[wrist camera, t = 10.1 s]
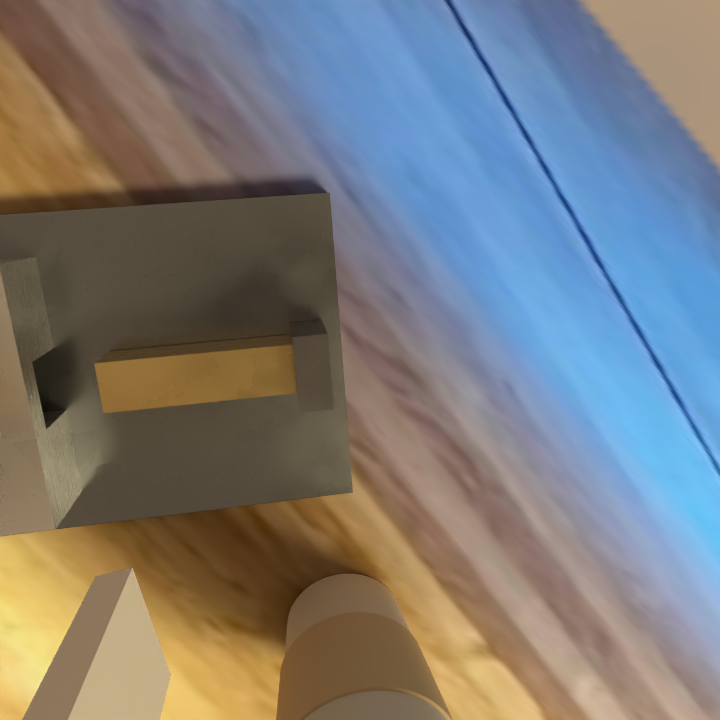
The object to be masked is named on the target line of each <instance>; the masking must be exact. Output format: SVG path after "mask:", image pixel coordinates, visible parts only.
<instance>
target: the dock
mask: <svg viewBox="0 0 720 720" xmlns="http://www.w3.org/2000/svg"><path fill="white" fill-rule="evenodd" d="M315 320H322V321H323V324H324V326H325V328H326V331H327V333H328V342H329V354H330V367H331V379H332V391H333V403H334V409H332V410H322V411H313V412H304V413H300V411H299V403H298V395H297V393H294V394H284V395H274V396H265V397H255V398H246V399H236V400H226V401H217V402H207V403H198V404H188V405H179V406H169V407H159V408H150V409H140V410H131V411H121V412H111V413H103V409H102V403H101V398H100V392H99V387H98V381H97V376H96V370H95V365H94V363H95V362H96V361H98V360H99V359H100V358H101V357H102V356H103V355H105V354H106V353H107V352H108V351H118V350H129V349H139V348H150V347H161V346H172V345H182V344H193V343H204V342H214V341H225V340H236V339H247V338H257V337H268V336H279V335H289V334H291V324H290V323H293V322H304V321H315ZM352 492H353V490H352V477H351V464H350V451H349V438H348V425H347V412H346V399H345V386H344V373H343V360H342V347H341V334H340V321H339V308H338V295H337V282H336V269H335V256H334V243H333V230H332V217H331V204H330V193H317V194H302V195H287V196H272V197H257V198H243V199H228V200H213V201H198V202H183V203H169V204H154V205H139V206H124V207H109V208H94V209H80V210H65V211H50V212H35V213H20V214H5V215H0V536H8V535H16V534H24V533H32V532H40V531H48V530H56V529H62V528H70V527H78V526H86V525H94V524H102V523H110V522H118V521H126V520H134V519H142V518H151V517H159V516H167V515H175V514H183V513H191V512H199V511H207V510H215V509H223V508H231V507H239V506H247V505H255V504H263V503H271V502H279V501H288V500H296V499H304V498H312V497H320V496H328V495H336V494H344V493H352Z"/></svg>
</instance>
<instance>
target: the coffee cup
mask: <svg viewBox="0 0 720 720" xmlns="http://www.w3.org/2000/svg"><path fill="white" fill-rule="evenodd" d="M276 720H452V717H451V715H450V713H449V711H448V709H447V706H446V704H445V702H444V700H443V698H442V695H441V693H440V691H439V689H438V687H437V684H436V682H435V680H434V678H433V676H432V673H431V671H430V669H429V667H428V664H427V662H426V660H425V658H424V656H423V653H422V651H421V649H420V647H419V645H418V643H417V641H416V639H415V638H414V637H413V635H412V634H411V633H410V630H409V628H408V626H407V623H406V621H405V619H404V617H403V614H402V612H401V610H400V607H399V605H398V603H397V601H396V599H395V597H394V595H393V594H392V593H391V591H390V590H389V589H388V588H387V587H386V586H384V585H383V584H382V583H380V582H379V581H377V580H375V579H373V578H370V577H368V576H364V575H360V574H337V575H332V576H329V577H326V578H323V579H321V580H319V581H317V582H315V583H313V584H312V585H310V586H309V587H307V588H306V589H305V590H304V591H303V592H302V593H301V594H300V595H299V596H298V597H297V599H296V600H295V602H294V603H293V605H292V607H291V609H290V612H289V615H288V621H287V632H286V645H285V657H284V660H283V663H282V666H281V672H280V683H279V694H278V706H277V718H276Z"/></svg>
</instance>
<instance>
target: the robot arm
mask: <svg viewBox="0 0 720 720" xmlns="http://www.w3.org/2000/svg"><path fill="white" fill-rule="evenodd" d="M170 676H171V674H170V671H169V668H168V666H167V663H166V660H165V657H164V654H163V652H162V649H161V646H160V643H159V640H158V638H157V635H156V632H155V629H154V626H153V624H152V621H151V618H150V615H149V612H148V610H147V607H146V604H145V601H144V599H143V596H142V593H141V590H140V587H139V585H138V582H137V579H136V576H135V573H134V571H133V568H128V569H124V570H120V571H116V572H112V573H108V574H104V575H100V576H96V577H95V579H94V581H93V583H92V585H91V586H90V588H89V590H88V592H87V594H86V596H85V598H84V600H83V602H82V604H81V606H80V608H79V610H78V612H77V614H76V616H75V618H74V620H73V622H72V624H71V626H70V628H69V630H68V631H67V633H66V635H65V637H64V639H63V641H62V643H61V645H60V647H59V649H58V651H57V653H56V655H55V657H54V659H53V661H52V663H51V665H50V667H49V669H48V671H47V673H46V674H45V676H44V678H43V680H42V682H41V684H40V686H39V688H38V690H37V692H36V694H35V696H34V698H33V700H32V702H31V704H30V706H29V708H28V710H27V712H26V714H25V716H24V717H23V719H22V720H160V717H161V712H162V708H163V704H164V700H165V696H166V692H167V688H168V684H169V680H170Z"/></svg>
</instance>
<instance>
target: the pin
mask: <svg viewBox="0 0 720 720" xmlns="http://www.w3.org/2000/svg"><path fill="white" fill-rule="evenodd" d="M290 324H291V334H289V335H279V336H268V337H257V338H247V339H236V340H225V341H214V342H204V343H193V344H182V345H172V346H161V347H150V348H139V349H129V350H118V351H108V352H107V353H106V354H105V355H103V356H102V357H101V358H100V359H99V360H98V361H96V362H95V363H94V365H95V370H96V376H97V381H98V387H99V392H100V398H101V403H102V409H103V413H111V412H121V411H131V410H140V409H150V408H159V407H169V406H179V405H188V404H198V403H207V402H217V401H226V400H236V399H246V398H255V397H265V396H274V395H284V394H294V393H297V395H298V403H299V411H300V413H304V412H313V411H322V410H332V409H334V403H333V391H332V379H331V367H330V354H329V342H328V333H327V331H326V328H325V326H324V324H323V321H322V320H315V321H304V322H293V323H290Z"/></svg>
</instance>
